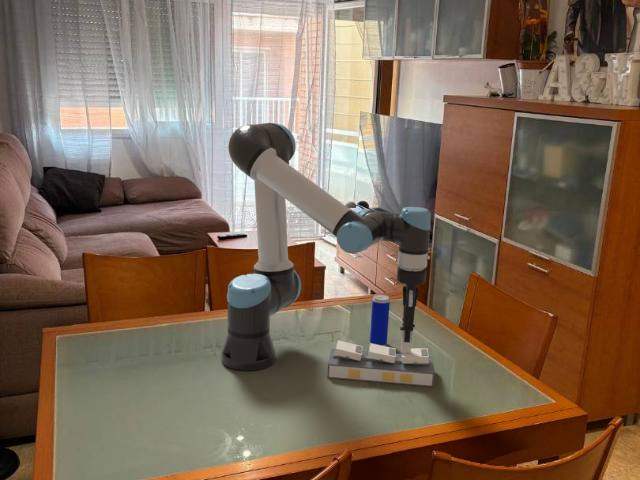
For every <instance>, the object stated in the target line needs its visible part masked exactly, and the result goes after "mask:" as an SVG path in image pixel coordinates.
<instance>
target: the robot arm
mask: <svg viewBox="0 0 640 480" xmlns="http://www.w3.org/2000/svg"><path fill="white" fill-rule="evenodd" d="M227 149H228V153H229V157H230V159H231V160H232V162H233V164H234V165H235V166H236V167H237V168H238V169H239V170H240V171H241V172H242V173H243V174H245V175H246V176H247V177H249V178H250V179H251V180H253V181H254V199H255V201H254V202H255V216H256V220H255V221H256V233H257V234H256V235H257V236H256V237H257V238H256V239H257V255H258V261H257V262H256V263H255V264H254V265H253V273H247V274H241V275H239V276H236V277H234V278H233V279H232V280H231V281H230V282H229V284H228V286H227V295H226V301H227V333H226V338H225V340H224V343H223V346H222V349H221V352H220V355H221V357H220V360H221V363H222V364H223V365H225V366H226V367H227V368H229V369H233V370H235V371H244V372H245V371H247V372H248V371H260V370H263V369H266V368H268V367H270V366H272V365H273V364H274V363H275V361H276V355H277V354H276V347H275V345H274V343H273V340H272V337H271V333H270V332H271V331H270V328H271V325H270V324H271V317H272V316H273V315H275V314H277V313H278V312H280V311H281V310H283V309H286V308H288V307H290V306H291V305H292V304H293V303H294V302H295V301H296V300H297V299H298V298H299V296H300V294H301V291H302V290H301V289H302V282H301V281H302V280H301V278H300V275H299V274H298V273H297V271H296V270H295V269H294V263H293V262H292V261H291V260H290V259H289V252H288V251H289V248H288V245H289V244H288V229H287V228H288V227H287V205H286V202H287V201H288V202H289V203H290V204H291V205H293V206H294V207H296V208H297V209H299V210H300V211H301V212H302V213H303V214H305V215H306V216H308V217H309V218H310V219H311V220H313V221H315V222H316V223H318V225H320V226H321V227H323V228H324V229H326V231H328V232H329V233H331V234H332V235H333V236H335V237H336V241H337V244H338V246H339V248H340V249H341V250H342V251H343V252H345V253H348V254H357V253H361V252H364V251H366V250H367V249H369V248H370V247H372V246H373V245H375V244H377V243H379V242H389V243H397V244H398V245H399V246H398V252H397V253H398V254H397V265H398V266H397V271H396V280H397V282H398V283H400V284H402V285H404V286H402V305H403V312H402V313H403V314H402V326H399V330H400V331H401V338H400V340H401V341H400V353H402V352H403V353H411V348H412V343H413V331H414V329H415V328H416V325H415V324H414V322H415V311H416V310H415V309H416V306H417V301H418V297H419V287H417V286H421V285H424V284H425V283H426V282H427V272H428V271H427V269H426V268H427V266H428V260H430V259H431V256H430V255H429V246H430V244H429V243H430V233H431V230H432V229H431V227H432V226H431V211H430V210H429V209H427V208H425V207H420V206H405V207H403V208H402V209H401V213H396V212H395V213H394V212H393V213H392V212H387V211H380V210H375V209H361V210H359V211H358V213H355V211H353V210H352V209H350V208H349V207H347V206H346V205H345V204H344V203H342V202H341V201H339V200H338V199H337V198H335V197H334V196H332V195H331V194H330V193H328V192H327V191H326V190H324V189H323V188H321V187H320V186H319V185H318V184H316V183H315V182H313V181H312V180H311V179H309V178H308V177H307V176H305V175H304V174H302V173H301V172H299V171H298V170H297V169H295V168H294V167H293V166H292V165H290V161H291V159H292V158H293V157H294V155H295V152H296V149H297V145H296V140H295V137H294V135H293V133H292V132H291V131H290V130H289V129H288V128H287V127H286V126H285V125H283V124H281V123H276V122H275V123H274V122H264V123H256V124H255V123H253V124H245V125H242V126H240V127H238V128H237V129H235V130H234V131H233V132H232V134H231V135H230V137H229V142H228V147H227Z"/></svg>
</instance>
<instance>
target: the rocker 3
mask: <svg viewBox="0 0 640 480" xmlns="http://www.w3.org/2000/svg"><path fill="white" fill-rule="evenodd" d="M401 354H402V363H413V364H414V365H417V363H429V356H430V355H429V349H428V348H427V347H426V348H424V347H423V348H422V347H421V348H418V347H417V348H416V347H415V348H412V347H411V353H403V352H401Z"/></svg>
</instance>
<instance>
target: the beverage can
mask: <svg viewBox="0 0 640 480" xmlns="http://www.w3.org/2000/svg"><path fill="white" fill-rule="evenodd" d="M371 301H372V303H371V316H370V317H371V319H370V336H369V344H370V343H372V344H377V345H381V346H386V345H388V331H389V319H390V317H389V316H390V302H391V300H390V297H389V296H388V295H385V294H375V295H373V297H372V300H371Z"/></svg>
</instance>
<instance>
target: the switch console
mask: <svg viewBox="0 0 640 480" xmlns="http://www.w3.org/2000/svg"><path fill="white" fill-rule="evenodd" d="M335 351H336V348H331V349H330V353H329V357H328V361H327V369H326V370H327V374H326V375H327V377H326V378H327V379H328V378H329V379H338V380H348V381H359V382H360V381H361V382H371V383H372V382H373V383H374V382H375V383H383V384H384V383H386V384H393V385H394V384H395V385H396V384H397V385H407V386H418V387H430V388H431V387H432V388H434V386H435V385H434V383H435V375H436V374H435V365H434V360H433V359H434V358H433V356H430V355H429V363H417V365H414V364H413V363H402V353H396V358H395V362H394V363H390V362H386V361H383V362H380V361H379V360H376V359H372V358H368V355H369V350H368V351H367V350H362V356H361V360H360V361H359V360H355V359H350V358H349V359H346V357H342V356H338V355H335Z"/></svg>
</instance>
